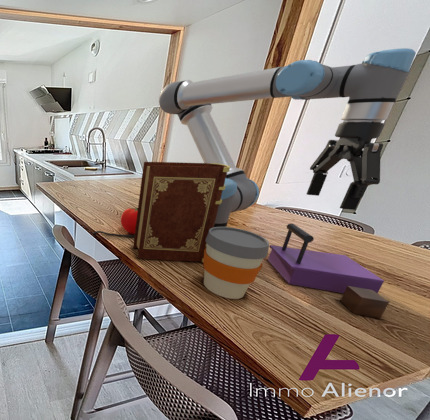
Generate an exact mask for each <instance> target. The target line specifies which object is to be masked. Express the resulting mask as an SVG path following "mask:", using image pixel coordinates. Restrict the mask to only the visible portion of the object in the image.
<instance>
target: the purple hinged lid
mask: <svg viewBox="0 0 430 420" xmlns="http://www.w3.org/2000/svg"><path fill="white" fill-rule="evenodd" d="M286 229H287V233H286V236H285V239H284V242H283V244H282V246H279V245H272V244H269V249H270V250H273V251H274V252H275V253H276V254H277V255H278V256H279V257H280V258H281V259H282V260H283V261H284V262H285V263H286V264H287V265H288V266H289V267H290V268H291V269H297V270H304V271H310V272H316V273H323V274H329V275H335V276H342V277H348V278H354V279H360V280H367V281H373V282H379V283H383V284H384V282H385V280H384V279H382V278H381V277H379V276H378V275H376V274H375V273H373V272H372V271H370V270H368V269H367V268H366V267H364V266H362V265H361V264H359V263H358V262H356V261H355V260H353V259H351V258H350V257H349V256H347V255H346V254H338V253H331V252H324V251H316V250H310V249H307V248H308V246H309V243H312V242H313V241H314V239H315V237H314V236H313V235H311V234H310V233H308V232H307V231H305V230H304V229H302V228H301V227H299V226H298V225H296V224H295V223H288V224H287V225H286ZM293 234H294V235H295V236H297V237H298V238H299V239H301V240H302V241H303V243H302V245H301V248H296V247H295V248H294V247H288V244H289V242H290V239H291V236H292V235H293Z"/></svg>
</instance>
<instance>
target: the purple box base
mask: <svg viewBox="0 0 430 420" xmlns="http://www.w3.org/2000/svg"><path fill="white" fill-rule="evenodd" d="M267 261H268V262H269V263H270V265H271V266H272V267H273V268H274V269H275V270H276V271H277V272H278V273H279V274H280V276H281V277H282V278H283V279H284V280H285V281H286V283H288V284H289V285H294V286H299V287H303V288H304V287H305V288H310V289H316V290H320V291H321V290H322V291H328V292H333V293H339V294H344V292H345V290H346V287H347V286H352V287H358V288H364V289H370V290H373V291H375V292H376V293H377V294H379V291H380V290H381V288H382V286H383V284H384V282H383V283H379V282H373V281H367V280H360V279H354V278H348V277H342V276H335V275H329V274H323V273H316V272H310V271H304V270H297V269H291V268H290V267H289V266H288V265H287V264H286V263H285V262H284V261H283V260H282V259H281V258H280V257H279V256H278V255H277V254H276V253H275V252H274V251H273V250H272V249H270V252H269V256H268V259H267Z"/></svg>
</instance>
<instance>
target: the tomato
mask: <svg viewBox="0 0 430 420" xmlns="http://www.w3.org/2000/svg"><path fill="white" fill-rule="evenodd" d="M137 212H138V207H133V208H132V207H128V208H127V209H125V210H124V211H123V212H122V214H121V216H120V224H121V227H122V228H123V229H124V230H125V232H127V233H128V234H129V235H135V228H136V220H137Z"/></svg>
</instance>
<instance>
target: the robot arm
mask: <svg viewBox="0 0 430 420" xmlns="http://www.w3.org/2000/svg"><path fill="white" fill-rule="evenodd" d="M416 53H417V52H416V51H415V50H414V49H413V48H408V47H407V48H406V47H403V48H402V47H401V48H391V49H384V50H380V51H374V52H370V53H369V54H367V55H366V56H365V57H364V59H363V60H362V62H361V63H357V64H352V65H343V66H329V65H326V64H323V63H320V62H318V61H317V60H312V59H300V60H296V61H293V62H291V63H289V64H288V65H285V66H278V67H273V68H267V69H261V70H256V71H255V70H254V71H250V72H245V73H239V74H233V75H226V76H221V77H215V78H209V79H204V80H198V81H192V80H190V79H186V80H185V79H184V80H179V81H173V82H170V83H168V84H167V85H165V86H164V87H163V88H162V90H161V92H160V94H159V97H158V105H159V107H160V109H161V110H162V111H163V112H164V113H166V114H170V115H177V117H178V120H179V121H180V123H181V125H185V126H186V127H187V129H188V131H189V133H190V135H191V137H192V139H193V141H194V144H195V146H196V148H197V151H198V153H199V155H200V158H201V160H202V161H203V163H218V164H224V165H228V166H230V170H229V172H227V175H226V179H225V183H224V185H225V190H223V191H222V195H221V200H222V202H221V204H219V208H218V212H217V216H216V220H215V224H214V227H228V222H229V220H230V215H231V214H233V213H235V212H240V211H243V210H247V209H248V208H250V207H252V206H253V205H254V204H255V203H256V202H258V199H259V197H260V188H259V186H258V184H257V183H256V182H255V181H254V180H253V179H250V178H248V177H247V175H246V172H245V171H244V169H242V168H238V167H237V166H236V164H235V162H234V160H233V157H232V155H231V153H230V152H229V149H228V147H227V145H226V143H225V141H224V139H223V137H222V135H221V133H220V131H219V129H218V127H217V125H216V123H215V121H214V118H213V117H212V114H211V112H212V110H213V105H214V104H225V103H236V102H247V101H257V100H267V99H280V98H292V100H298V101H299V100H300V101H301V100H302V101H303V100H305V101H309V100H320V99H321V100H322V99H336V98H337V99H339V98H348V101H347V102H346V105H345V108H344V110H343V113H342V115H341V118H340V120H341V121H342V122H340V123H338V126H337V129H336V131H335V133H334V136H335V137H336V138H339V139H329V140H327V143H326V145H325V147H324V149H323V150H322V151H321V152H320V154H319V155H318V156H317V158H316V159H315V160H314V162H313V163H312V164H311V165H310V166H309V170H311V171H312V173H313V176H312V178H311V180H310V184H309V185H308V189H307V192H306V195H307V196H316V197H317V196H318V197H319V196H320V194H321V192H322V189H323V187H324V184H325V182H326V179H327V176H328V174H329V170H331V169H332V168H333V167H334V166H336V165H337V164H338V163H339V162H340V161H341V160H346V161H347V162H349V165H350V169H351V174H352V179H353V181H352V182H350V183H349V186H348V188H347V190H346V193H345V195H344V197H343V199H342V202H341V203H340V206H339V209H342V210H351V211H356V209H357V207H358V205H359V203H360V201H361V199H362V198H363V197H364V195H365V193H366V191H367V188H368V187H369V186H372V185H379V184H380V183H381V152H382V151H383V147H384V143H383V142H372V140H373V139H378V138H379V137H380V136H381V134H382V132H383V130H384V127H385V123H384V122H383V121H387V120H388V117H389V115H390V113H391V111H392V109H393V106H394V104H395V103H396V101H397V99H398V96H399V95H400V92H401V90H402V88H403V86H404V83H405V81H406V79H407V77H408V75H409V73H410V72H411V67H412V65H413V62H414V59H415V57H416ZM96 234H103V235H107V236H115V237H124V238H125V237H126V238H134V236H135V235H134V234H129V235H128V234H121V233H111V232H105V231H102V230H96V231H94V232H92V235H96Z"/></svg>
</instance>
